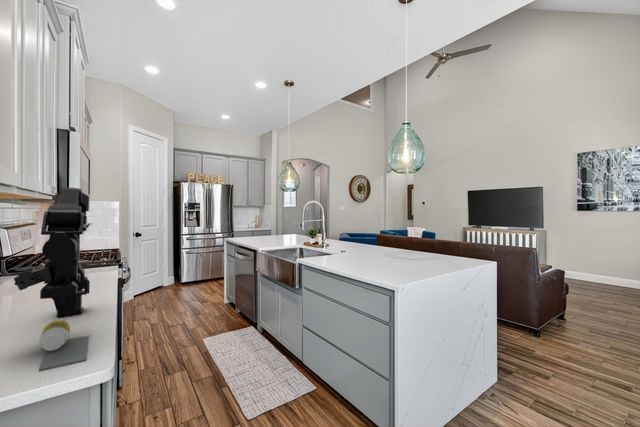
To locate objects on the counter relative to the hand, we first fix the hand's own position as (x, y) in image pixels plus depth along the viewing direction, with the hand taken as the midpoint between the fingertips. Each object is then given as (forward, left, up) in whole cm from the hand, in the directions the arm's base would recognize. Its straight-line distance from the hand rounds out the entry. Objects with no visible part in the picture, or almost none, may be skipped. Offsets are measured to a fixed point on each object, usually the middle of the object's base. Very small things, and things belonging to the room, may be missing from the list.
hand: (61, 317), depth 73 cm
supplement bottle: (-5, -1, -5) cm, 7 cm away
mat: (+4, +1, -8) cm, 9 cm away
